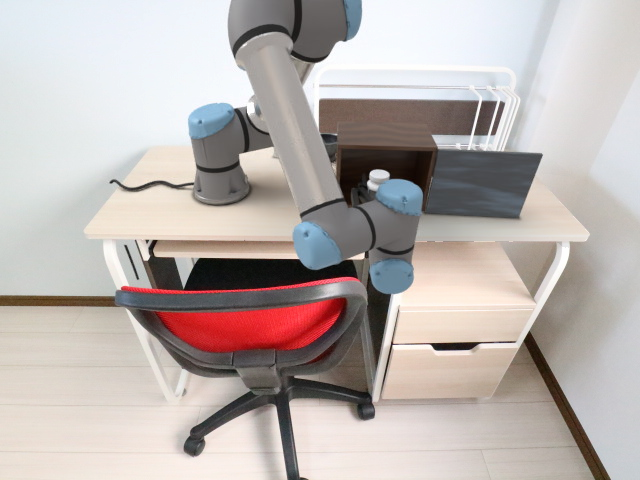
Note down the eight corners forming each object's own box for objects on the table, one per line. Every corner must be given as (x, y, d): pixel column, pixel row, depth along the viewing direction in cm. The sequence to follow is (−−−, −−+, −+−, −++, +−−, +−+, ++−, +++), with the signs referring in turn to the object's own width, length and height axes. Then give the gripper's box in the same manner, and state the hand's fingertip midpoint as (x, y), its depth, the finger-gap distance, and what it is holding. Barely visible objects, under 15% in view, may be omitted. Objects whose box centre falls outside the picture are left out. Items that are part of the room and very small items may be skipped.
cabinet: (424, 211, 103) (438, 147, 92) (334, 208, 103) (337, 144, 92) (415, 182, 115) (425, 123, 105) (335, 180, 116) (337, 121, 105)
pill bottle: (391, 211, 96) (397, 176, 90) (373, 218, 93) (378, 181, 88) (377, 201, 100) (381, 166, 94) (359, 207, 97) (362, 171, 91)
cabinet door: (422, 201, 106) (434, 140, 96) (511, 205, 105) (533, 144, 95) (425, 213, 101) (439, 150, 91) (518, 218, 100) (543, 154, 90)
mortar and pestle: (340, 153, 131) (342, 118, 124) (339, 165, 124) (341, 129, 117) (308, 151, 132) (307, 117, 125) (305, 163, 125) (304, 127, 117)
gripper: (338, 244, 81) (338, 190, 100) (427, 247, 81) (411, 192, 99) (339, 214, 77) (340, 163, 95) (434, 217, 76) (415, 166, 95)
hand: (376, 178), depth 97 cm, fingers closed on pill bottle, 6 cm apart
